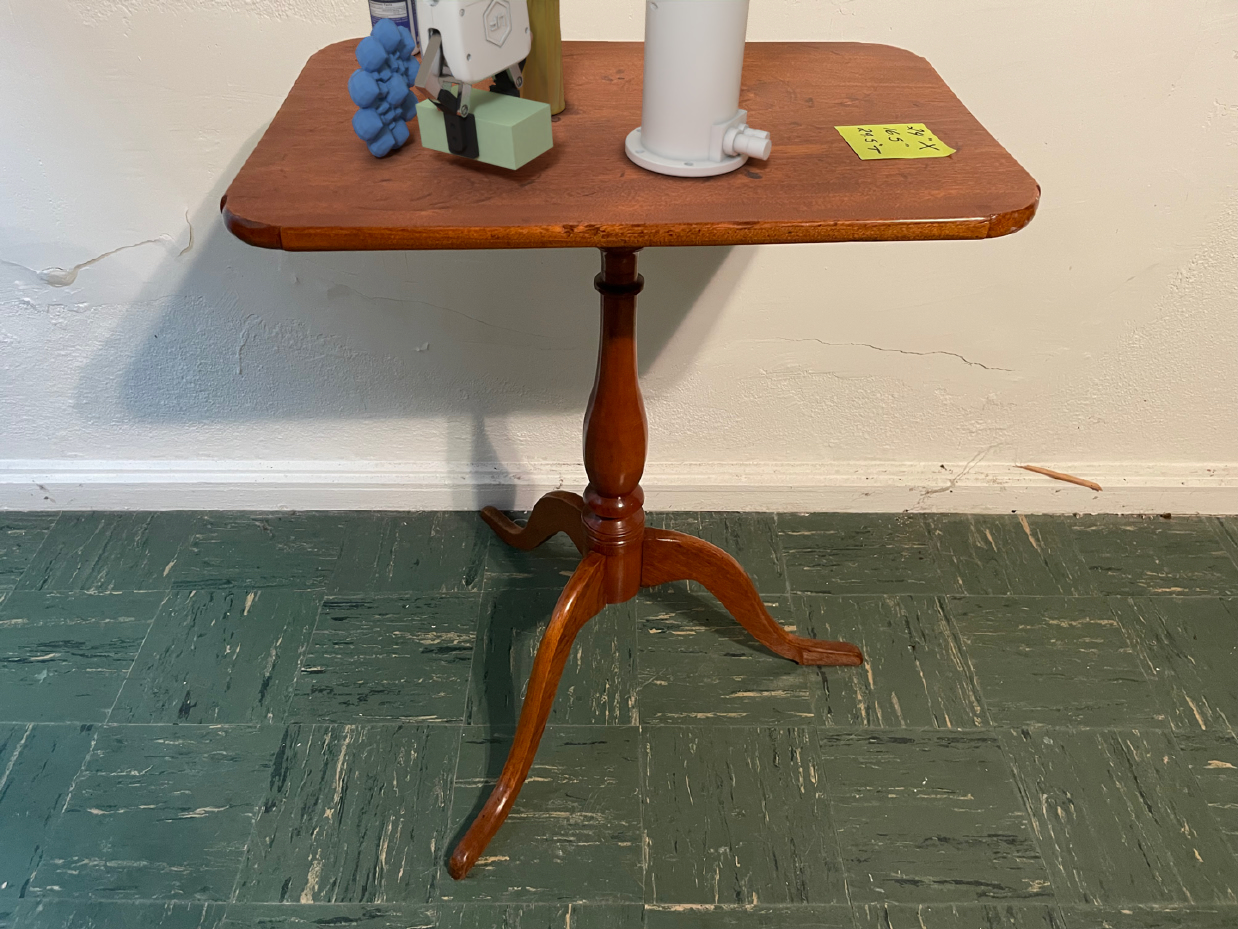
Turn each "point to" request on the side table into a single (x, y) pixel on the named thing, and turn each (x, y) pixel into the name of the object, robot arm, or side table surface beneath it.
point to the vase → (544, 56)
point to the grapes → (384, 87)
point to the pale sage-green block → (494, 127)
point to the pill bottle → (396, 15)
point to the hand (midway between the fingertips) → (486, 140)
